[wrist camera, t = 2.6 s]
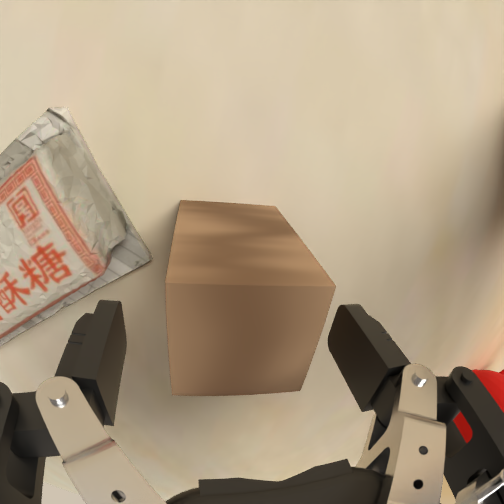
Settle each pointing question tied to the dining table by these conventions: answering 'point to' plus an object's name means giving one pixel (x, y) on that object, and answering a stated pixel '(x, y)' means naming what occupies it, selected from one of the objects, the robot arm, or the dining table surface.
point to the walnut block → (241, 301)
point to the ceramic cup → (498, 386)
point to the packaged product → (57, 224)
